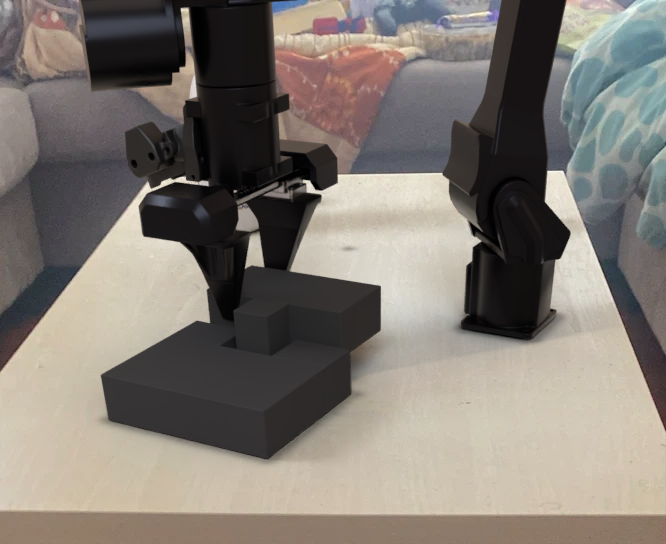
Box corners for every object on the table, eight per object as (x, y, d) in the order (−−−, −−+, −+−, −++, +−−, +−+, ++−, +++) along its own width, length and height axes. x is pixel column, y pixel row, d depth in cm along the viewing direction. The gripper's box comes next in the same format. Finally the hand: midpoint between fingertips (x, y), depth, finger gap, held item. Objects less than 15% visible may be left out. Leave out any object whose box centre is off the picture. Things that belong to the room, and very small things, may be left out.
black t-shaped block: (381, 330, 83) (381, 285, 80) (321, 373, 76) (319, 326, 74) (254, 308, 87) (251, 264, 85) (188, 346, 81) (183, 301, 79)
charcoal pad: (351, 394, 79) (350, 349, 77) (267, 459, 71) (263, 411, 69) (201, 363, 85) (196, 319, 82) (108, 420, 77) (99, 374, 75)
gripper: (216, 53, 82) (234, 258, 93) (60, 97, 70) (100, 328, 80) (338, 61, 78) (343, 276, 88) (194, 109, 66) (219, 352, 76)
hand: (253, 305), depth 83 cm, fingers closed on black t-shaped block, 6 cm apart
